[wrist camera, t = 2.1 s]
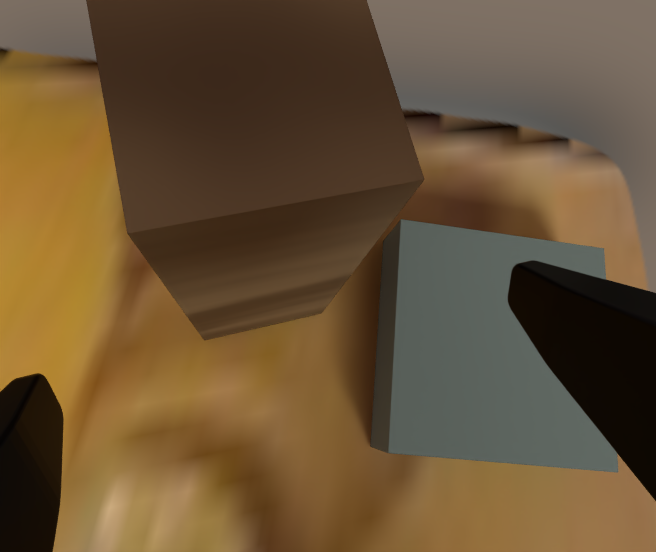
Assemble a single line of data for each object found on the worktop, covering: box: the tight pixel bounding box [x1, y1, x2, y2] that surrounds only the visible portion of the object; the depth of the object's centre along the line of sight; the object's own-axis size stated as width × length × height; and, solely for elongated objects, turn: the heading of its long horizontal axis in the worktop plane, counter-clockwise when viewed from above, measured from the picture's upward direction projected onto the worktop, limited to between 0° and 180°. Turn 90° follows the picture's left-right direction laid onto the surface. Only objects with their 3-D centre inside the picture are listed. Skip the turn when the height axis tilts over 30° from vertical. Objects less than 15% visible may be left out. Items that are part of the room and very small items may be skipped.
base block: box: [370, 219, 618, 472], centre depth 21 cm, size 9×9×3 cm
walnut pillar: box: [86, 0, 424, 340], centre depth 15 cm, size 5×5×13 cm
